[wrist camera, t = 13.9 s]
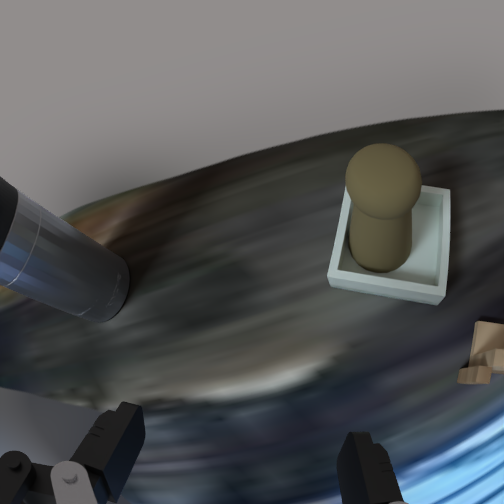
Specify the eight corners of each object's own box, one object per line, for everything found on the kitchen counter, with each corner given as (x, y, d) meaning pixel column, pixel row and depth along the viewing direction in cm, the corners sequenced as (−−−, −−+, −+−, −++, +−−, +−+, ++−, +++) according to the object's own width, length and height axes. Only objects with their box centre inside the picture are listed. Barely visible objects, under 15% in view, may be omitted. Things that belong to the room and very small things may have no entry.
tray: (331, 286, 28) (327, 276, 25) (350, 193, 31) (347, 176, 28) (437, 305, 24) (445, 296, 21) (444, 206, 27) (450, 189, 24)
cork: (390, 203, 28) (393, 118, 19) (424, 253, 25) (450, 179, 16) (336, 230, 29) (319, 152, 19) (367, 285, 26) (368, 223, 16)
